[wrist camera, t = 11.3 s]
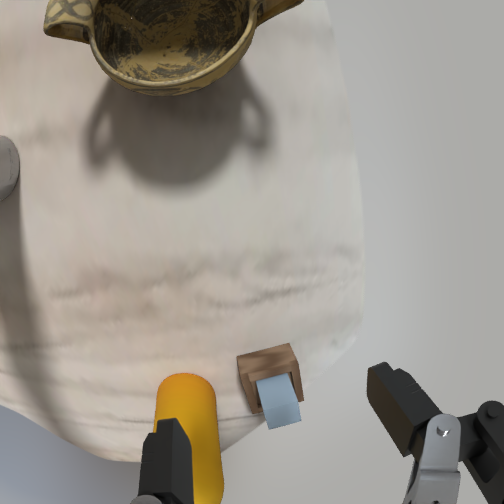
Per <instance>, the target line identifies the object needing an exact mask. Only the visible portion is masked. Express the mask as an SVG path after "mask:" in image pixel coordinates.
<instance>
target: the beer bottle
mask: <svg viewBox="0 0 504 504" xmlns="http://www.w3.org/2000/svg"><path fill="white" fill-rule="evenodd" d="M169 418H177V419H178V421H179V423H180V424H181V426H182V428H183V429H184V431H185V433H186V434H187V436H188V438H189V440H190V443H191V447H192V466H193V489H194V504H220V503H221V500H222V497H223V492H224V478H223V471H222V462H221V453H220V443H219V434H218V423H217V412H216V397H215V392H214V390H213V388H212V386H211V385H210V383H209V382H208V381H206V380H205V379H204V378H202V377H200V376H197V375H194V374H188V373H180V374H175V375H171V376H169V377H167V378H166V379H165V380H164V381H163V382H162V383H161V384H160V386H159V388H158V392H157V399H156V411H155V419H154V428H153V433H155V432H156V427H157V421H158V420H161V419H169Z"/></svg>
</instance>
